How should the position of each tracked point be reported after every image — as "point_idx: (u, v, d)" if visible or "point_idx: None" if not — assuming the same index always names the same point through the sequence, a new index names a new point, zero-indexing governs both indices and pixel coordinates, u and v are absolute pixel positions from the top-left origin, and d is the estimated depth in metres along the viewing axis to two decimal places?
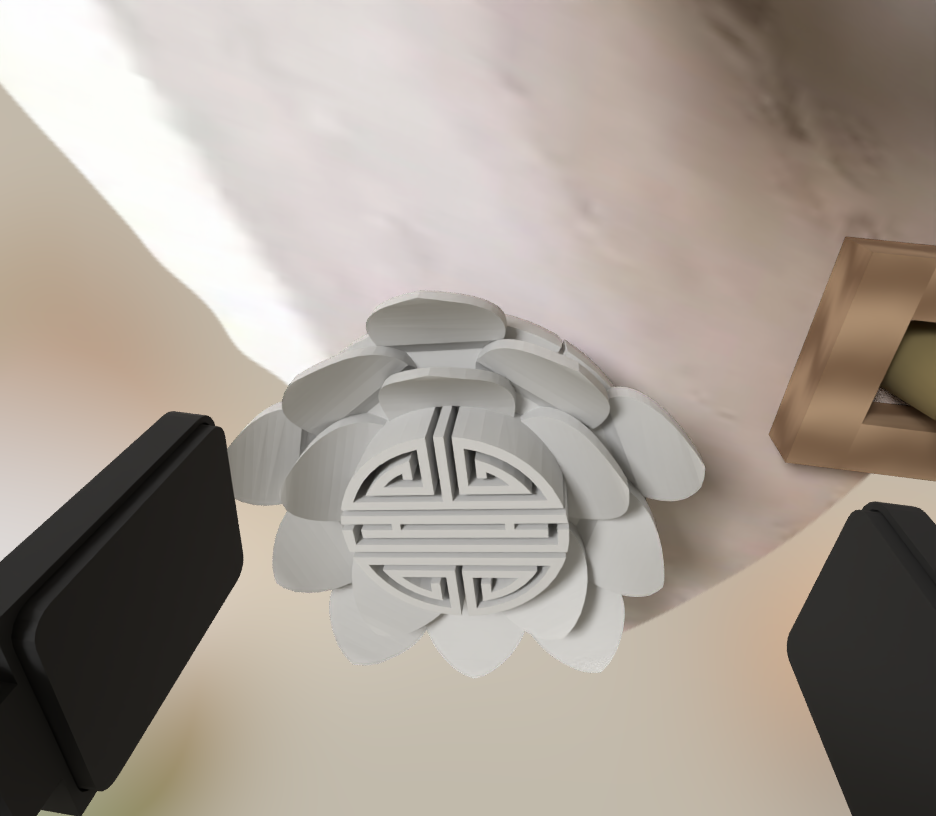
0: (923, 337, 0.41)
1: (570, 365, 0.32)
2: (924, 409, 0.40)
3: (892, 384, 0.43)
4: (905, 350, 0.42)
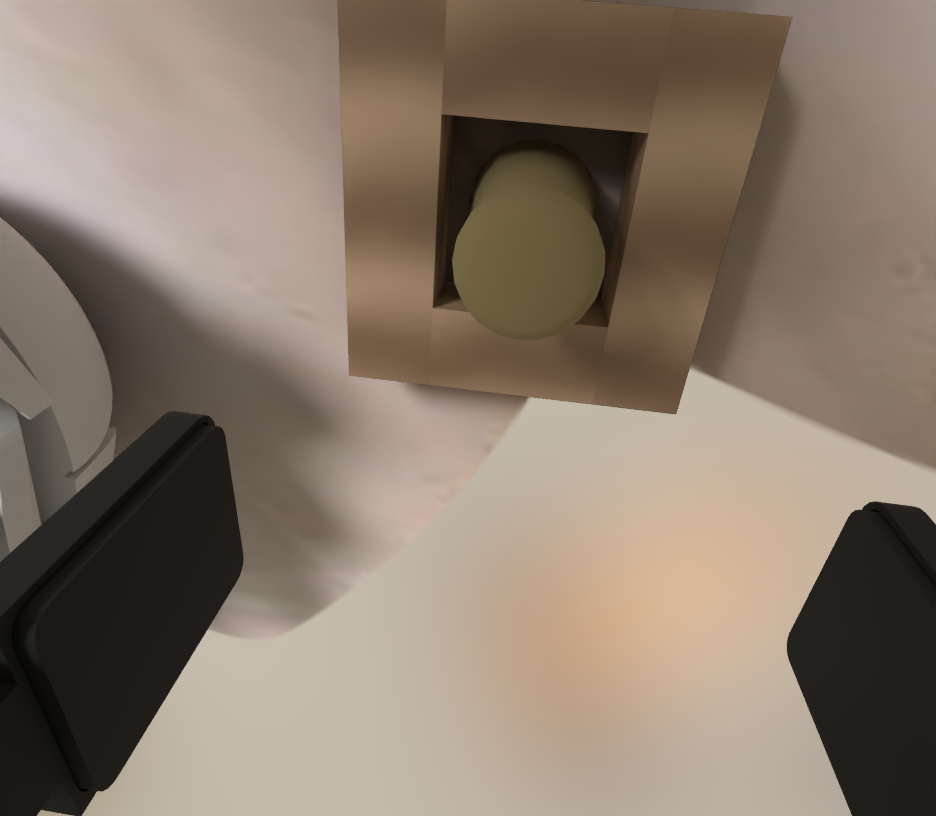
0: (503, 160, 0.26)
1: None
2: None
3: None
4: (481, 184, 0.26)
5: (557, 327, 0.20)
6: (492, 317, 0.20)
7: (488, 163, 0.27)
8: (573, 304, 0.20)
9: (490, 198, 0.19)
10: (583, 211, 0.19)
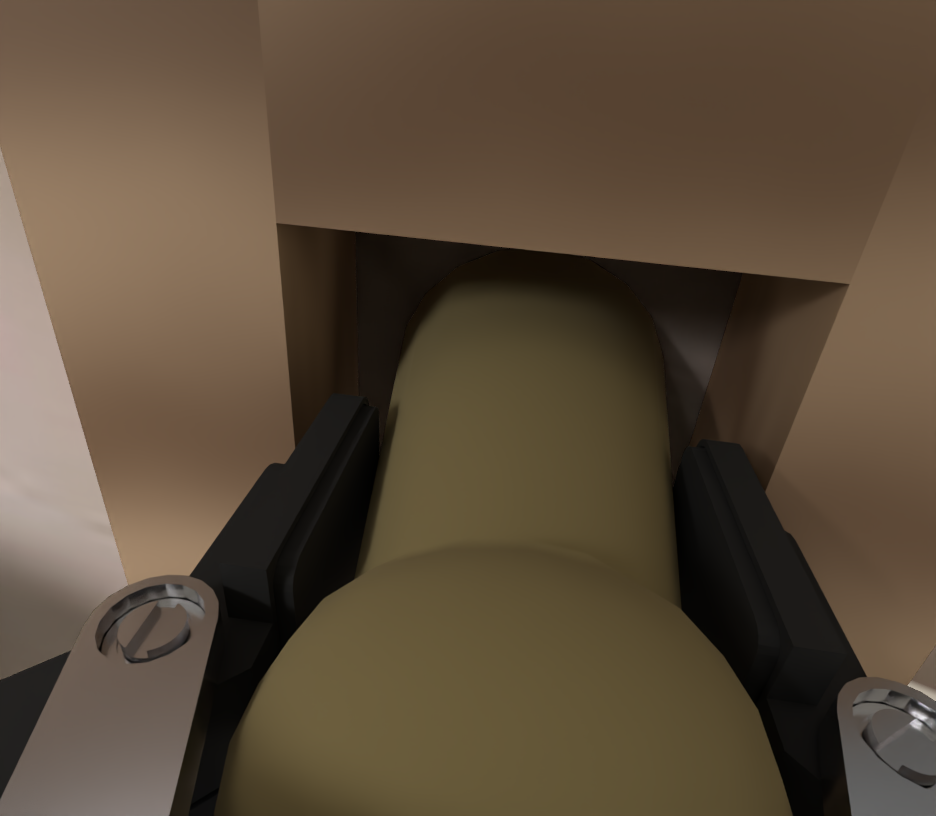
0: (458, 309, 0.11)
1: None
2: None
3: None
4: (407, 358, 0.11)
5: None
6: None
7: (431, 296, 0.13)
8: None
9: (332, 666, 0.05)
10: (733, 754, 0.04)
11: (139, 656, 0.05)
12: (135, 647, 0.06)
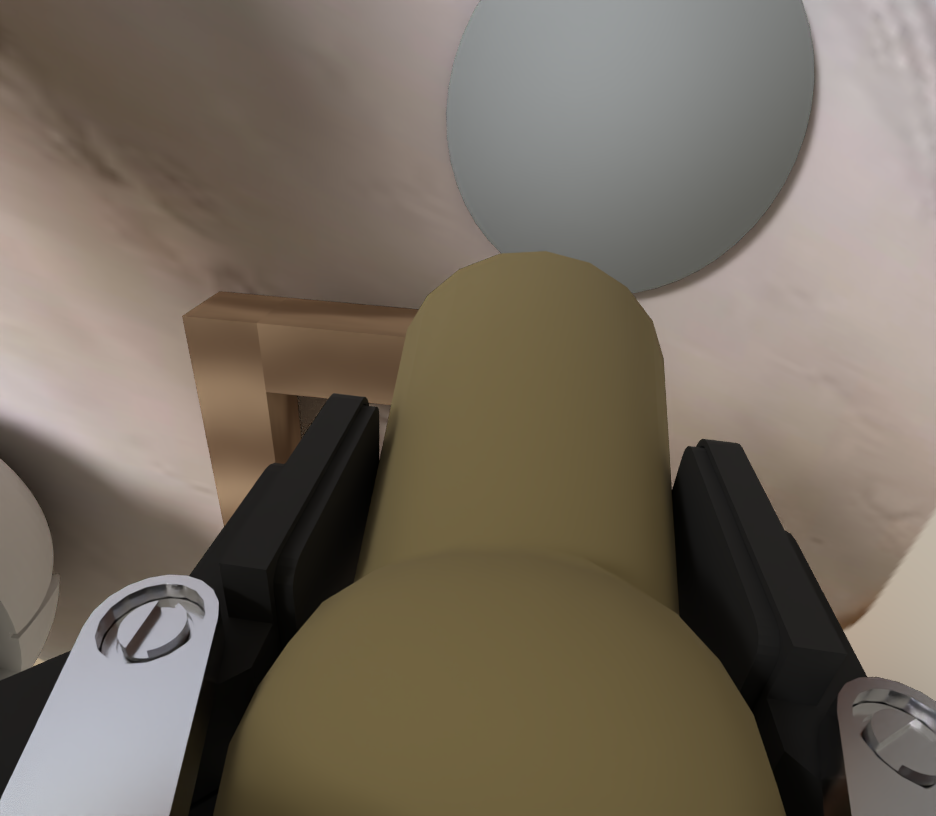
0: (459, 313, 0.11)
1: None
2: None
3: None
4: (408, 361, 0.11)
5: None
6: None
7: (432, 299, 0.13)
8: None
9: (330, 669, 0.05)
10: (727, 759, 0.04)
11: (139, 656, 0.05)
12: (135, 647, 0.06)
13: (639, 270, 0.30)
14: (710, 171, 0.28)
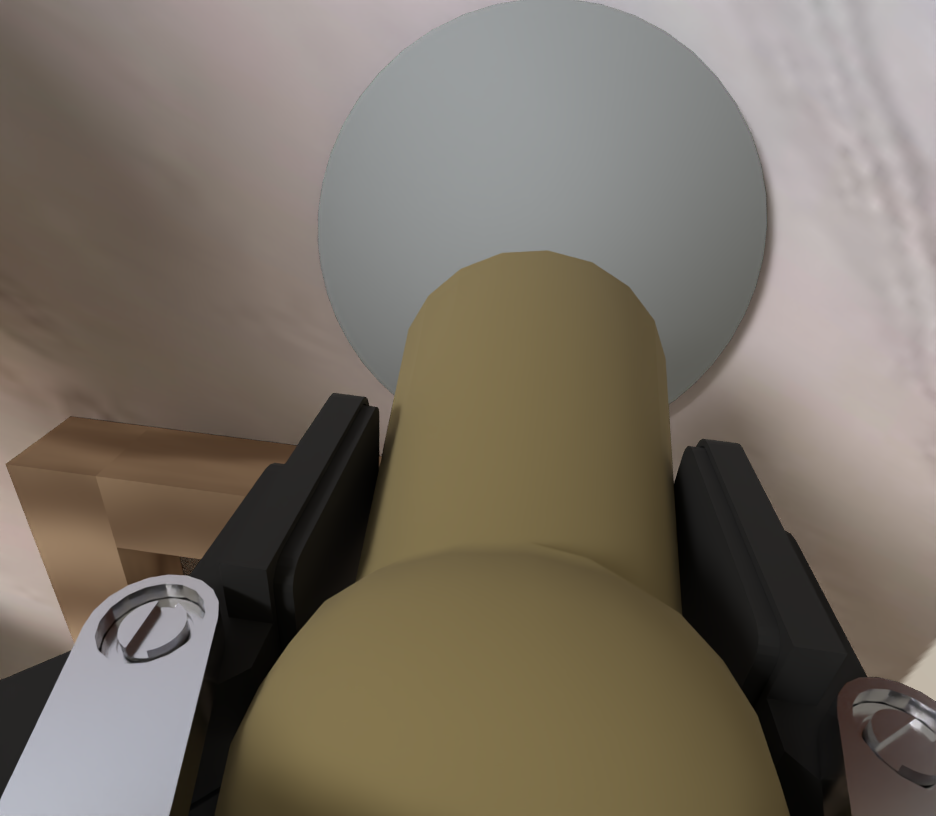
0: (460, 312, 0.11)
1: None
2: None
3: None
4: (409, 360, 0.11)
5: None
6: None
7: (434, 298, 0.13)
8: None
9: (332, 669, 0.05)
10: (731, 760, 0.04)
11: (139, 656, 0.05)
12: (135, 647, 0.06)
13: None
14: None
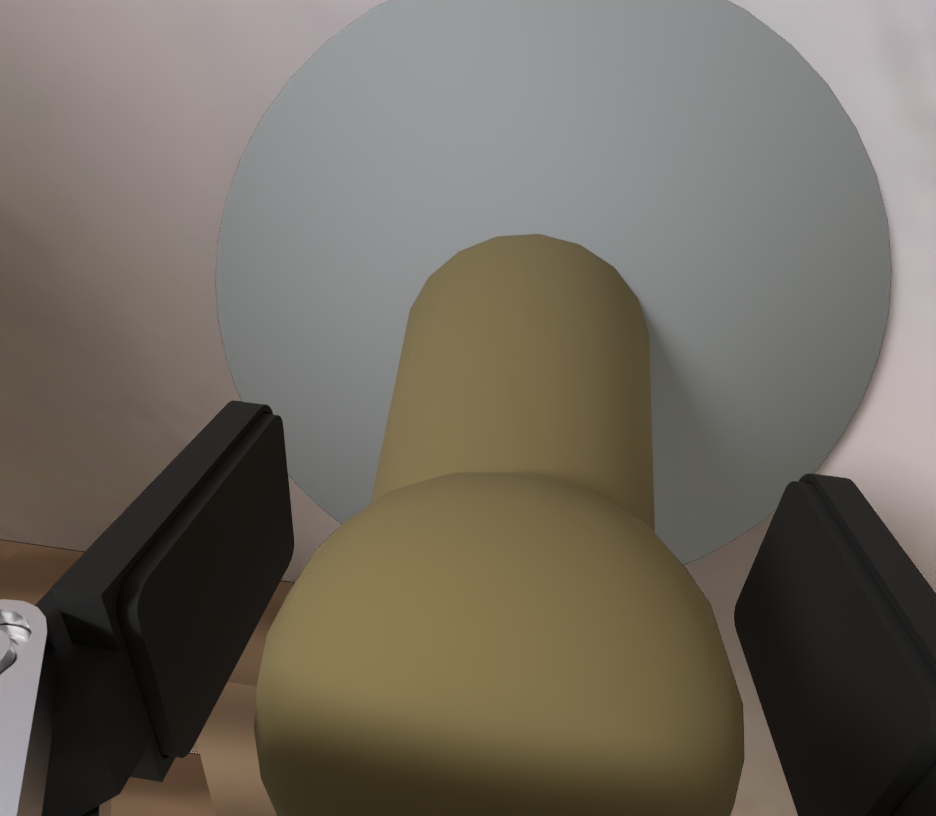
0: (458, 289, 0.12)
1: None
2: None
3: None
4: (412, 334, 0.12)
5: None
6: None
7: (434, 279, 0.14)
8: None
9: (356, 557, 0.06)
10: (682, 622, 0.05)
11: None
12: None
13: None
14: (689, 438, 0.15)
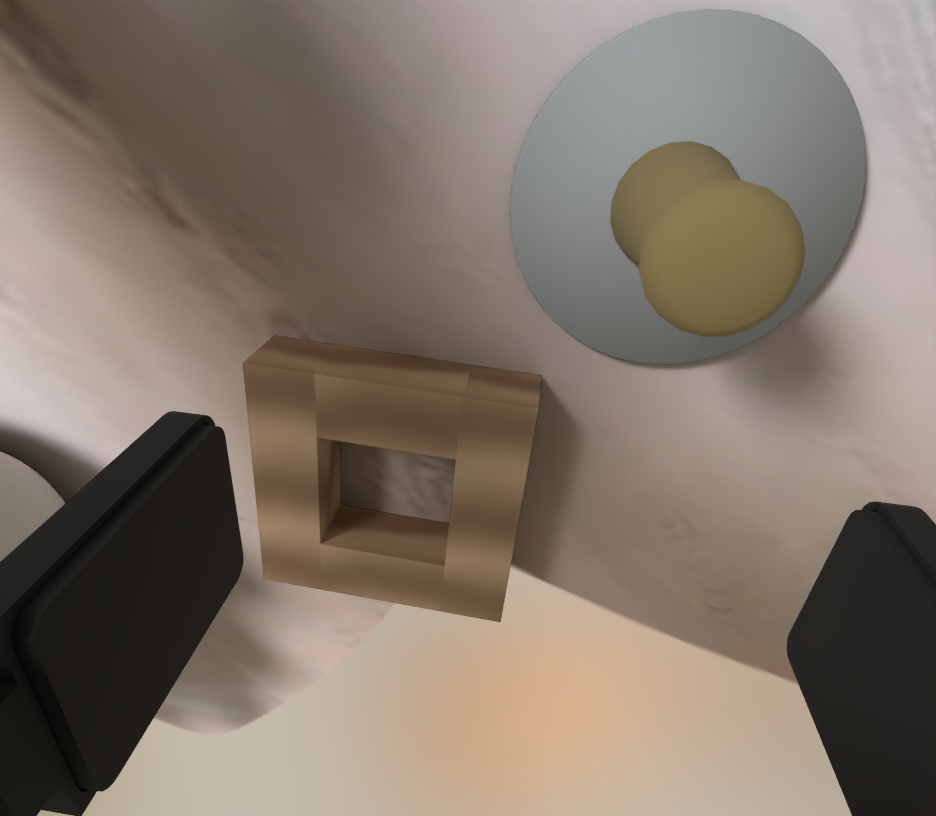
0: (662, 160, 0.26)
1: None
2: None
3: (624, 243, 0.27)
4: (635, 183, 0.26)
5: (750, 324, 0.20)
6: (685, 311, 0.20)
7: (637, 163, 0.27)
8: (773, 300, 0.19)
9: (693, 192, 0.19)
10: (790, 207, 0.19)
11: None
12: None
13: (683, 343, 0.31)
14: None
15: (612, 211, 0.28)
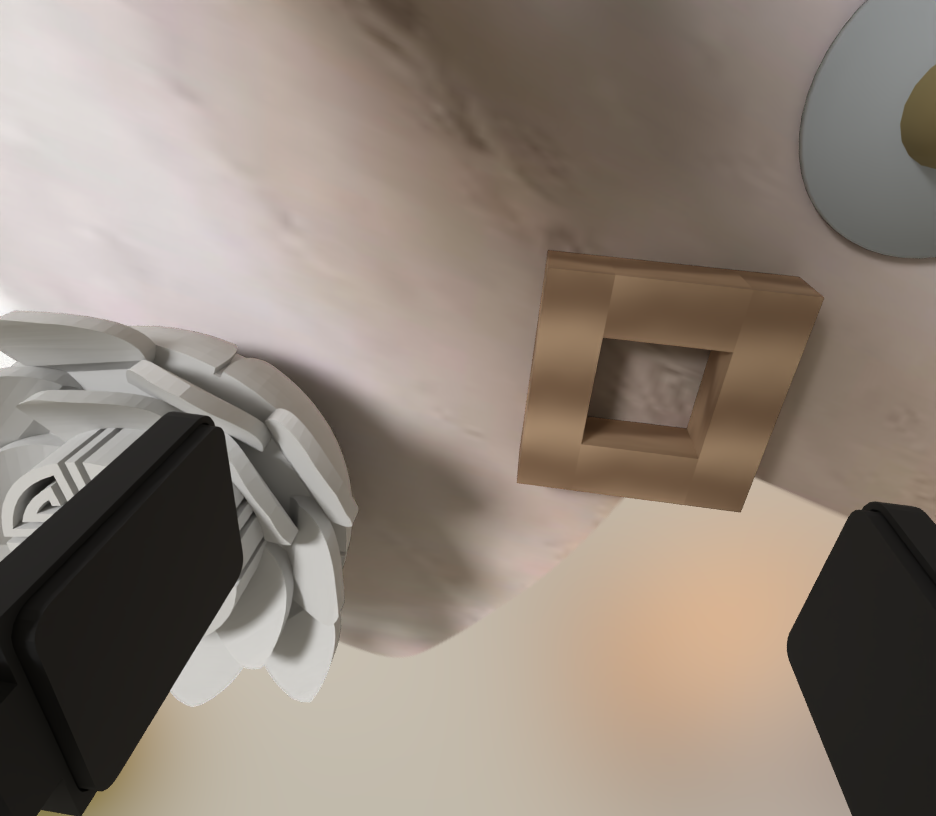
0: None
1: (174, 389, 0.30)
2: None
3: (934, 135, 0.30)
4: None
5: None
6: None
7: None
8: None
9: None
10: None
11: None
12: None
13: None
14: None
15: (907, 112, 0.32)
